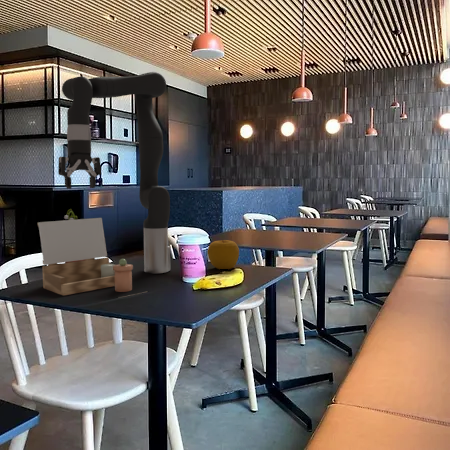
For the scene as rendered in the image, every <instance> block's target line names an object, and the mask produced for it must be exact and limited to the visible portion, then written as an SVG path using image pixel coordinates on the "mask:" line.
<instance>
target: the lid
mask: <svg viewBox="0 0 450 450" xmlns="http://www.w3.org/2000/svg"><path fill="white" fill-rule="evenodd" d="M37 227H38V230H39V232H38V233H39V237H40V239H39V240H40V247H41V253H42V264H43V266H48V264H55V263H57V264H63V263H65V262H70V261H77V260H84V259H92V258H95V259H100V258H107V257H108V253H107V245H106V238H105V232H104V225H103V218H102V217H94V218H93V217H92V218H80V219H78V218H77V219H76V220H68V219H65V220H64V219H63V220H55V221H54V220H53V221H51V220H50V221H40V222H39V221H38V222H37Z"/></svg>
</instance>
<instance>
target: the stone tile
mask: <svg viewBox="0 0 450 450" xmlns="http://www.w3.org/2000/svg"><path fill="white" fill-rule="evenodd" d="M145 293H148V291H143V292H136V293H133V294H127V295H123V296H118V297H116V299H121V298H125V297H131V296H137V295H141V294H145Z"/></svg>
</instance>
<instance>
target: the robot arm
mask: <svg viewBox="0 0 450 450" xmlns="http://www.w3.org/2000/svg"><path fill="white" fill-rule="evenodd" d="M61 91H62V94H63V95H64V97H65V98H67V99H68V100H70V101H72V105H71V106H70V107H69V108H68V109H67V110H66V111H67V112H66V117H67V118H66V119H67V121H66V122H67V130H66V137H67V138H66V139H67V145H66V146H67V155H68V156H59V157H58V169H57V170H58V171H57V172H58V175H59V176H61V177H64V186H65V188H66V189H67V190H68V189H69V190H71V189H73V188H72V177H71V176H72V174H73V173H74V172H75V171H85V172H86V173H87V174H88V176H89V178H88V179H89V188H90V189H95V188H96V185H97V176H100V175H102V169H101V168H102V167H101V158H100V157H99V156H98V157H92V134H91V125H90V110H91V106H92V101H93V99H108V98H111V99H112V98H117V97H125V96H131V95H134V100H135V107H136V114H137V129H138V130H137V131H138V132H137V133H138V149H139V150H138V151H139V152H138V153H139V169H140V170H139V171H140V173H139V174H140V177H139V178H140V179H139V201H140V205H141V206H142V207H143V208H145V209H146V210H148V211H147V217H146V218H145V219H144V220H143V254H144V255H143V260H144V261H143V263H144V264H143V266H144V268H143V269H144V272H145V273H149V274H163V273H164V274H165V273H168V272H169V271H171V246H169V234H168V233H169V230H168V229H169V228H168V227H169V225H168V223H169V220H170V216H171V215H170V214H171V213H170V212H171V197H170V192H169V191H168V189H167V188H166V187H164V186H161V185H159V180H158V176H159V175H158V173H159V169H160V164H161V161H162V159H163V155H164V135H163V130H162V129H161V126H160V124H159V122H158V119H157V118H156V116H155V113H154V108H153V107H154V106H153V99H155V98H159V97H161V96H162V95H164V93H165V92H166V91H167V82H166V79H165V77H164V76H163V75H162V74H161V73H160V72H157V71H150V72H145V73H141V74H138V75H134V76H133V75H132V76H96V77H91V78H88V77H86V76H83V75H82V76H80V75H79V76H76V77H72V78H68V79H66V80H65V81H64V83H62V87H61ZM67 163H68V164H69V165H68V167H66V165H67ZM91 164H93V166H92V165H91Z"/></svg>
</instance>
